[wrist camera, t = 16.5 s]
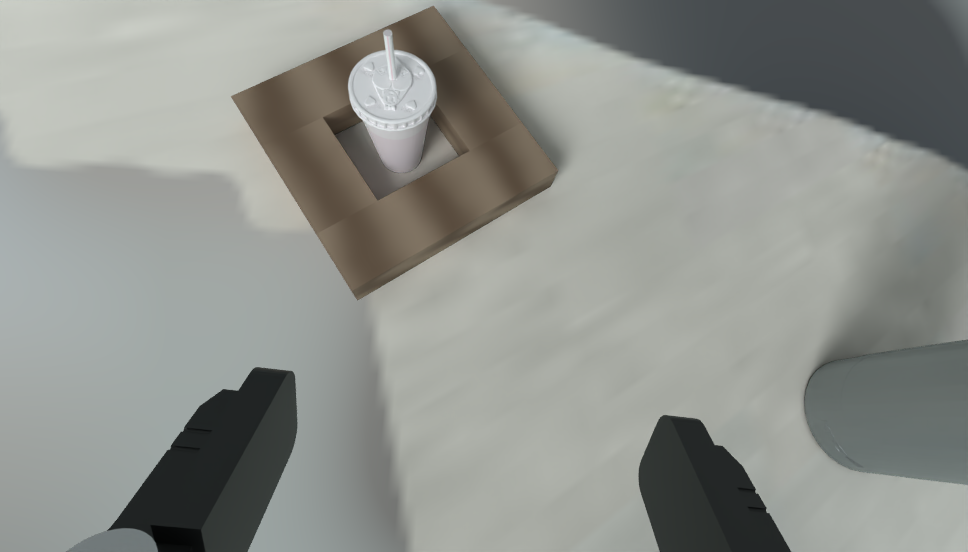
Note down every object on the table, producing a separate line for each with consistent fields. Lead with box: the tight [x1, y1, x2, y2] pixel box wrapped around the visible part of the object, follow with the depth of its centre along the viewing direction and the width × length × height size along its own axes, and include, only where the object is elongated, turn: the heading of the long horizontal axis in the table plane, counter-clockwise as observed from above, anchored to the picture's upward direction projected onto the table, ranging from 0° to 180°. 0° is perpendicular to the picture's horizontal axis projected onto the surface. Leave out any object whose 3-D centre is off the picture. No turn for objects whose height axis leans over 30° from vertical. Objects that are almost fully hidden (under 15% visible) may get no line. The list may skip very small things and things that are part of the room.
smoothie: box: [348, 30, 437, 173], centre depth 37 cm, size 6×6×14 cm
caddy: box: [231, 6, 558, 300], centre depth 43 cm, size 20×20×3 cm
